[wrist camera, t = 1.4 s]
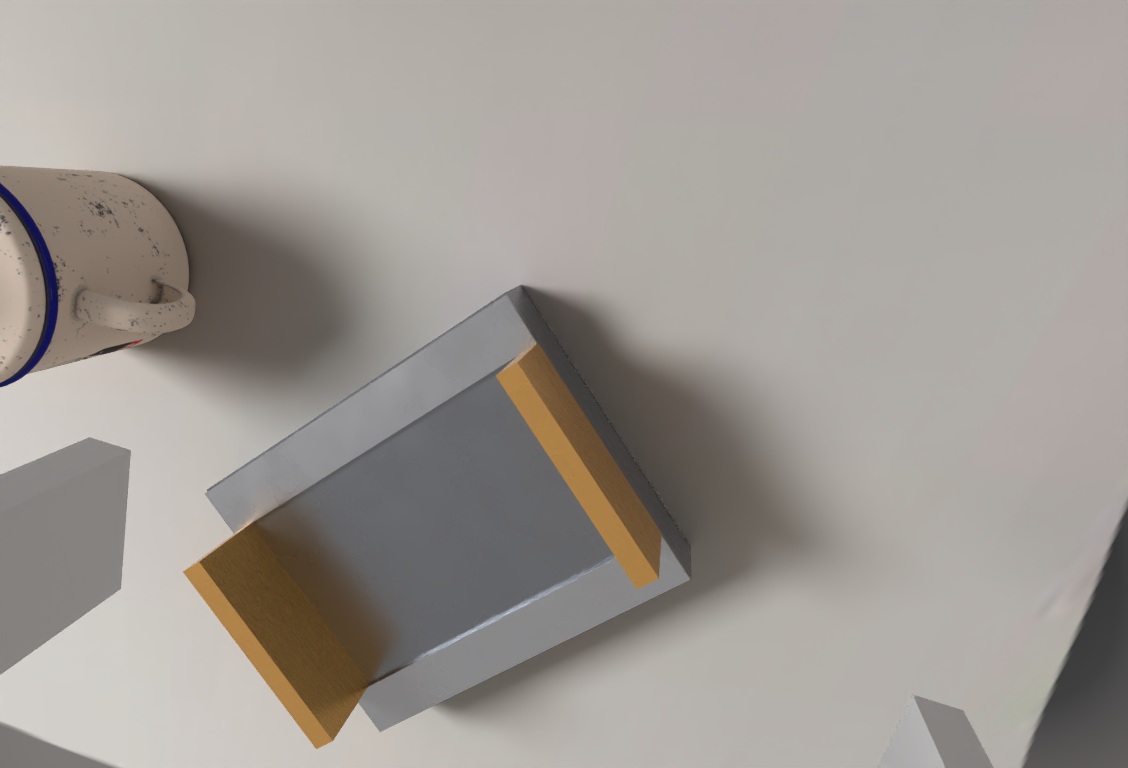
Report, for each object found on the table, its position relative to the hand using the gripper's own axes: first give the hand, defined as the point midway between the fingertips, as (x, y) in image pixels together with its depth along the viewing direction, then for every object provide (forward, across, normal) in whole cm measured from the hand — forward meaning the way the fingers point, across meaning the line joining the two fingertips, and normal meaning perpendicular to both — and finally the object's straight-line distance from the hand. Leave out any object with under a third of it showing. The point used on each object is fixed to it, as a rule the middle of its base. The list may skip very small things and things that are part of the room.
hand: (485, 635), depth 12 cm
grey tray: (+22, -5, -10) cm, 25 cm away
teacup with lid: (+23, -24, -3) cm, 33 cm away
